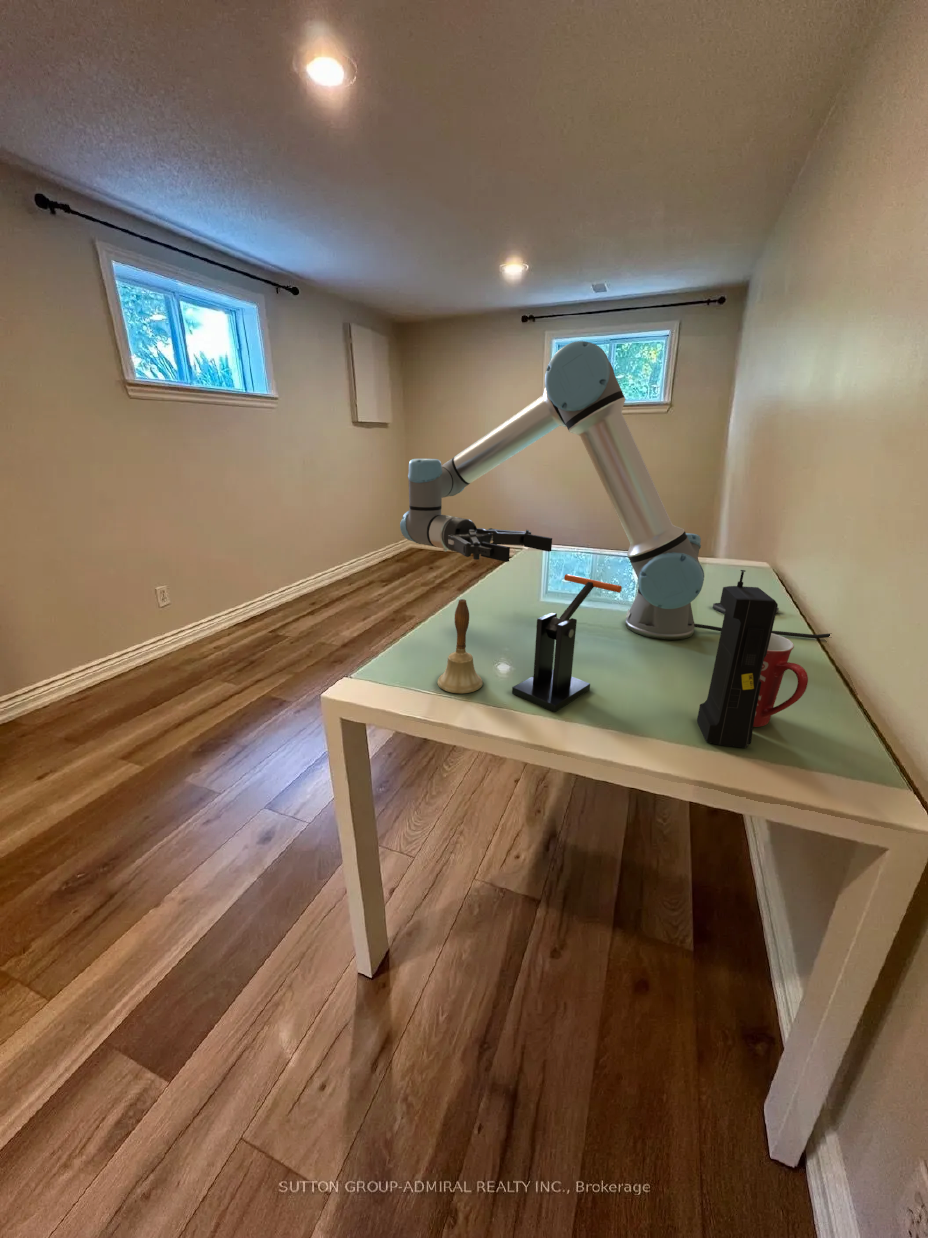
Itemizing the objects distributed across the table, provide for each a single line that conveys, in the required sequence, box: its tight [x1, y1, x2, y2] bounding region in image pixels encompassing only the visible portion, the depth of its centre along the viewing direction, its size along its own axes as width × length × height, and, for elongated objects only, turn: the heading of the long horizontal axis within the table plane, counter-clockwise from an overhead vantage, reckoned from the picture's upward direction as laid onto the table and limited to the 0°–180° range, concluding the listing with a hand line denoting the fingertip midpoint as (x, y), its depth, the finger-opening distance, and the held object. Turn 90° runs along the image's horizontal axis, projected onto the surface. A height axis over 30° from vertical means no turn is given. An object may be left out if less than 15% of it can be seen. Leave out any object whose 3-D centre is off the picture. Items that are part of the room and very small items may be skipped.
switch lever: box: [545, 573, 623, 641], centre depth 85 cm, size 14×11×2 cm
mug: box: [753, 633, 809, 728], centre depth 76 cm, size 13×9×14 cm
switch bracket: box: [511, 612, 591, 713], centre depth 85 cm, size 11×9×14 cm
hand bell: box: [436, 598, 484, 694], centre depth 87 cm, size 8×8×16 cm
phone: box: [712, 602, 780, 615], centre depth 130 cm, size 8×1×15 cm
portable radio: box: [696, 569, 779, 749], centre depth 70 cm, size 8×6×25 cm
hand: (530, 549), depth 95 cm, fingers open, 13 cm apart
